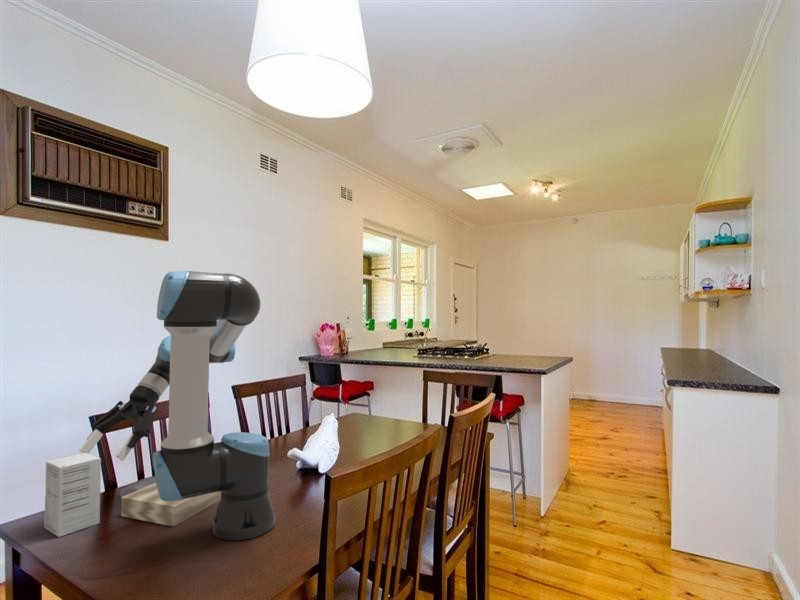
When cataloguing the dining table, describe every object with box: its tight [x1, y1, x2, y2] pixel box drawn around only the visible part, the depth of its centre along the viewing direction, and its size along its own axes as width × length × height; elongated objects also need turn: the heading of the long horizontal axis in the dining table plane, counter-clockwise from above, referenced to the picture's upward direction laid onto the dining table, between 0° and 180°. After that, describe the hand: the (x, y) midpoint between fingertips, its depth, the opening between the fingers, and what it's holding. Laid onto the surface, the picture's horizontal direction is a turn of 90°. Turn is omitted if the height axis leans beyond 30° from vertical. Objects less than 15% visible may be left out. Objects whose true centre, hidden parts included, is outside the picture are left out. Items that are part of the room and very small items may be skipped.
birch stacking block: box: [120, 483, 221, 527], centre depth 125 cm, size 18×18×5 cm
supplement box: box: [43, 452, 102, 538], centre depth 114 cm, size 10×9×17 cm
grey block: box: [119, 475, 156, 499], centre depth 135 cm, size 12×5×10 cm
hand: (100, 455), depth 122 cm, fingers open, 13 cm apart
